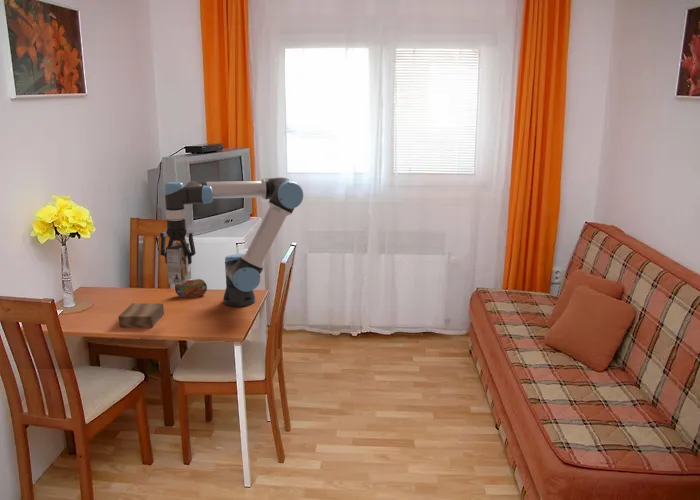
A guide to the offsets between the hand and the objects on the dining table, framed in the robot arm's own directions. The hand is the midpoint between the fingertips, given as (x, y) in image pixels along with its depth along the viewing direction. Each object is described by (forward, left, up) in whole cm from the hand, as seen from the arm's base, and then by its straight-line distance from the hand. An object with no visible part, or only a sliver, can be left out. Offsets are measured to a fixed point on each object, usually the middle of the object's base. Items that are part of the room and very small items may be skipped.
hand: (179, 270), depth 255 cm
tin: (+4, -31, -23) cm, 39 cm away
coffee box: (0, 0, -5) cm, 5 cm away
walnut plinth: (+17, +2, -22) cm, 28 cm away
